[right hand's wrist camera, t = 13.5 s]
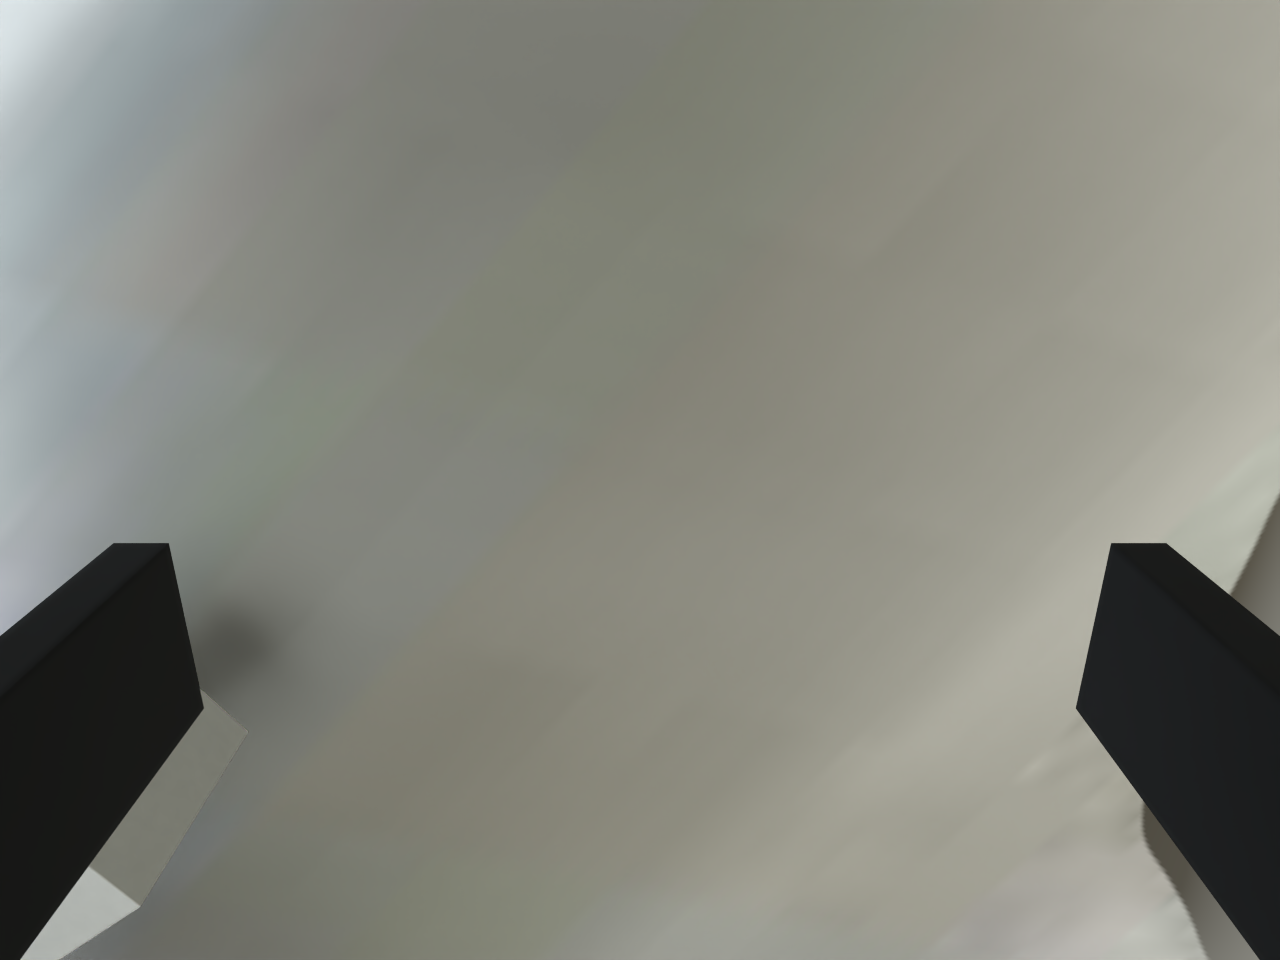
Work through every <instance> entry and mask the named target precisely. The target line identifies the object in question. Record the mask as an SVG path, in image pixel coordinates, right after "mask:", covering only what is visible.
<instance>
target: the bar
mask: <svg viewBox="0 0 1280 960" xmlns="http://www.w3.org/2000/svg"><path fill="white" fill-rule="evenodd" d="M200 691H201V696H202V701H203V705H204V709H203V711H202V712H201V713H200V715H199V716H198V717H197V719H196V720H195V721H194V723H193V724H192V726H191V727H190V728H189V730H188V731H187V732H186V734H185V735H184V737H183V738H182V739H181V741H180V742H179V743H178V745H177V746H176V747H175V749H174V750H173V752H172V753H171V754H170V756H169V757H168V758H167V760H166V761H165V763H164V764H163V765H162V767H161V768H160V769H159V771H158V772H157V773H156V775H155V776H154V778H153V779H152V780H151V782H150V783H149V784H148V786H147V787H146V788H145V790H144V791H143V793H142V794H141V795H140V797H139V798H138V799H137V801H136V802H135V804H134V805H133V806H132V808H131V809H130V810H129V812H128V813H127V814H126V816H125V817H124V819H123V820H122V821H121V823H120V824H119V825H118V827H117V828H116V830H115V831H114V832H113V834H112V835H111V836H110V838H109V839H108V840H107V842H106V843H105V845H104V846H103V847H102V849H101V850H100V851H99V853H98V854H97V855H96V857H95V858H94V860H93V861H92V862H91V864H90V865H89V866H88V868H87V869H86V871H85V872H84V873H83V875H82V876H81V877H80V879H79V880H78V881H77V883H76V884H75V886H74V887H73V888H72V890H71V891H70V892H69V894H68V895H67V897H66V898H65V899H64V901H63V902H62V903H61V905H60V906H59V907H58V909H57V910H56V912H55V913H54V914H53V916H52V917H51V918H50V920H49V921H48V922H47V924H46V925H45V927H44V928H43V929H42V931H41V932H40V933H39V935H38V936H37V938H36V939H35V940H34V942H33V943H32V944H31V946H30V947H29V948H28V950H27V951H26V953H25V954H24V955H23V957H22V958H21V959H20V960H60V959H61V958H63V957H64V956H66V955H67V954H69V953H70V952H72V951H74V950H75V949H77V948H78V947H80V946H81V945H83V944H84V943H86V942H87V941H89V940H90V939H92V938H93V937H95V936H97V935H98V934H100V933H101V932H103V931H104V930H106V929H107V928H109V927H110V926H112V925H113V924H115V923H116V922H118V921H120V920H121V919H123V918H124V917H126V916H127V915H129V914H130V913H132V912H133V911H135V910H136V909H138V908H139V907H141V905H142V904H143V902H144V900H145V899H146V897H147V896H148V894H149V892H150V891H151V889H152V887H153V886H154V884H155V883H156V881H157V879H158V878H159V876H160V875H161V873H162V871H163V870H164V868H165V866H166V865H167V863H168V862H169V860H170V858H171V857H172V855H173V853H174V852H175V850H176V849H177V847H178V845H179V844H180V842H181V841H182V839H183V837H184V836H185V834H186V832H187V831H188V829H189V828H190V826H191V824H192V823H193V821H194V819H195V818H196V816H197V815H198V813H199V811H200V810H201V808H202V807H203V805H204V803H205V802H206V800H207V798H208V797H209V795H210V794H211V792H212V790H213V789H214V787H215V785H216V784H217V782H218V781H219V779H220V777H221V776H222V774H223V773H224V771H225V769H226V768H227V766H228V764H229V763H230V761H231V760H232V758H233V756H234V755H235V753H236V751H237V750H238V748H239V747H240V745H241V743H242V742H243V740H244V739H245V737H246V735H247V734H248V731H247V730H246V729H245V728H244V727H243V726H242V725H241V724H239V723H238V722H237V721H236V720H235V719H234V718H233V717H232V716H231V715H229V714H228V713H227V712H226V711H225V710H224V709H223V708H222V707H220V706H219V705H218V704H217V703H216V702H215V701H214V700H213V699H211V698H210V697H209V696H208V695H207V694H206V693H205V692H204V691H203V690H201V689H200Z"/></svg>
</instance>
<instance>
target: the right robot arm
mask: <svg viewBox="0 0 1280 960" xmlns="http://www.w3.org/2000/svg"><path fill="white" fill-rule="evenodd" d="M203 709H204V705H203V701H202V696H201V691H200V687H199V682H198V678H197V673H196V668H195V664H194V659H193V654H192V650H191V645H190V640H189V636H188V631H187V626H186V622H185V617H184V612H183V608H182V603H181V598H180V594H179V589H178V584H177V580H176V575H175V570H174V566H173V561H172V556H171V552H170V547H169V543H113V544H112V545H111V546H110V547H109V548H107V549H106V550H105V551H104V552H102V553H101V554H100V555H99V556H98V557H96V558H95V559H94V560H93V561H91V562H90V563H89V564H88V565H87V566H85V567H84V568H83V569H82V570H80V571H79V572H78V573H77V574H76V575H74V576H73V577H72V578H71V579H69V580H68V581H67V582H66V583H65V584H63V585H62V586H61V587H60V588H58V589H57V590H56V591H55V592H54V593H52V594H51V595H50V596H49V597H47V598H46V599H45V600H44V601H43V602H41V603H40V604H39V605H38V606H36V607H35V608H34V609H33V610H32V611H30V612H29V613H28V614H27V615H25V616H24V617H23V618H22V619H21V620H19V621H18V622H17V623H16V624H14V625H13V626H12V627H11V628H10V629H8V630H7V631H6V632H5V633H4V634H2V635H1V636H0V960H20V959H21V958H22V957H23V955H24V954H25V953H26V951H27V950H28V948H29V947H30V946H31V944H32V943H33V942H34V940H35V939H36V938H37V936H38V935H39V933H40V932H41V931H42V929H43V928H44V927H45V925H46V924H47V922H48V921H49V920H50V918H51V917H52V916H53V914H54V913H55V912H56V910H57V909H58V907H59V906H60V905H61V903H62V902H63V901H64V899H65V898H66V897H67V895H68V894H69V892H70V891H71V890H72V888H73V887H74V886H75V884H76V883H77V881H78V880H79V879H80V877H81V876H82V875H83V873H84V872H85V871H86V869H87V868H88V866H89V865H90V864H91V862H92V861H93V860H94V858H95V857H96V855H97V854H98V853H99V851H100V850H101V849H102V847H103V846H104V845H105V843H106V842H107V840H108V839H109V838H110V836H111V835H112V834H113V832H114V831H115V830H116V828H117V827H118V825H119V824H120V823H121V821H122V820H123V819H124V817H125V816H126V814H127V813H128V812H129V810H130V809H131V808H132V806H133V805H134V804H135V802H136V801H137V799H138V798H139V797H140V795H141V794H142V793H143V791H144V790H145V788H146V787H147V786H148V784H149V783H150V782H151V780H152V779H153V778H154V776H155V775H156V773H157V772H158V771H159V769H160V768H161V767H162V765H163V764H164V763H165V761H166V760H167V758H168V757H169V756H170V754H171V753H172V752H173V750H174V749H175V747H176V746H177V745H178V743H179V742H180V741H181V739H182V738H183V737H184V735H185V734H186V732H187V731H188V730H189V728H190V727H191V726H192V724H193V723H194V721H195V720H196V719H197V717H198V716H199V715H200V713H201V712H202V711H203ZM1076 709H1077V711H1078V712H1079V713H1080V715H1081V716H1082V717H1083V719H1084V720H1085V721H1086V723H1087V724H1088V726H1089V727H1090V728H1091V730H1092V731H1093V732H1094V734H1095V735H1096V737H1097V738H1098V739H1099V741H1100V742H1101V743H1102V745H1103V746H1104V747H1105V749H1106V750H1107V752H1108V753H1109V754H1110V756H1111V757H1112V758H1113V760H1114V761H1115V763H1116V764H1117V765H1118V767H1119V768H1120V769H1121V771H1122V772H1123V773H1124V775H1125V776H1126V778H1127V779H1128V780H1129V782H1130V783H1131V784H1132V786H1133V787H1134V788H1135V790H1136V791H1137V793H1138V794H1139V795H1140V797H1141V798H1142V799H1143V801H1144V802H1145V804H1146V805H1147V806H1148V808H1149V809H1150V810H1151V812H1152V813H1153V814H1154V816H1155V817H1156V819H1157V820H1158V821H1159V823H1160V824H1161V825H1162V827H1163V828H1164V830H1165V831H1166V832H1167V834H1168V835H1169V836H1170V838H1171V839H1172V840H1173V842H1174V843H1175V845H1176V846H1177V847H1178V849H1179V850H1180V851H1181V853H1182V854H1183V855H1184V857H1185V858H1186V860H1187V861H1188V862H1189V864H1190V865H1191V866H1192V868H1193V869H1194V871H1195V872H1196V873H1197V875H1198V876H1199V877H1200V879H1201V880H1202V881H1203V883H1204V884H1205V885H1206V887H1207V888H1208V890H1209V891H1210V892H1211V894H1212V895H1213V897H1214V898H1215V899H1216V901H1217V902H1218V903H1219V905H1220V906H1221V907H1222V909H1223V910H1224V912H1225V913H1226V914H1227V916H1228V917H1229V918H1230V920H1231V921H1232V922H1233V924H1234V925H1235V927H1236V928H1237V929H1238V931H1239V932H1240V933H1241V935H1242V936H1243V938H1244V939H1245V940H1246V942H1247V943H1248V944H1249V946H1250V947H1251V948H1252V950H1253V951H1254V953H1255V954H1256V955H1257V957H1258V958H1259V959H1260V960H1280V636H1279V635H1278V634H1276V633H1275V632H1274V631H1273V630H1272V629H1270V628H1269V627H1268V626H1267V625H1266V624H1264V623H1263V622H1262V621H1261V620H1259V619H1258V618H1257V617H1256V616H1255V615H1253V614H1252V613H1251V612H1250V611H1248V610H1247V609H1246V608H1245V607H1243V606H1242V605H1241V604H1240V603H1239V602H1237V601H1236V600H1235V599H1234V598H1232V597H1231V596H1230V595H1229V594H1228V593H1226V592H1225V591H1224V590H1223V589H1222V588H1220V587H1219V586H1218V585H1217V584H1215V583H1214V582H1213V581H1212V580H1211V579H1209V578H1208V577H1207V576H1206V575H1204V574H1203V573H1202V572H1201V571H1200V570H1198V569H1197V568H1196V567H1195V566H1193V565H1192V564H1191V563H1190V562H1189V561H1187V560H1186V559H1185V558H1184V557H1182V556H1181V555H1180V554H1179V553H1178V552H1176V551H1175V550H1174V549H1173V548H1171V547H1170V546H1169V545H1168V544H1167V543H1111V547H1110V552H1109V556H1108V561H1107V566H1106V570H1105V575H1104V580H1103V584H1102V589H1101V594H1100V598H1099V603H1098V608H1097V612H1096V617H1095V622H1094V626H1093V631H1092V636H1091V640H1090V645H1089V650H1088V654H1087V659H1086V664H1085V668H1084V673H1083V678H1082V682H1081V687H1080V691H1079V696H1078V701H1077V705H1076Z"/></svg>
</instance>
